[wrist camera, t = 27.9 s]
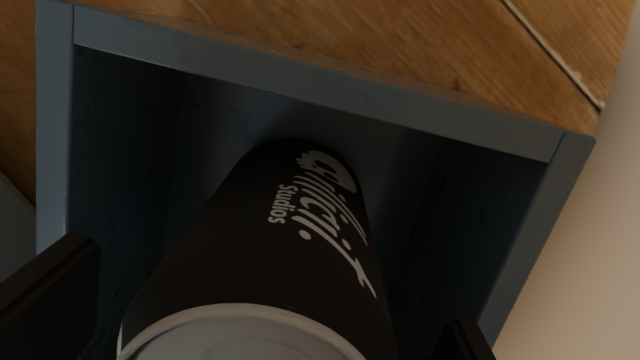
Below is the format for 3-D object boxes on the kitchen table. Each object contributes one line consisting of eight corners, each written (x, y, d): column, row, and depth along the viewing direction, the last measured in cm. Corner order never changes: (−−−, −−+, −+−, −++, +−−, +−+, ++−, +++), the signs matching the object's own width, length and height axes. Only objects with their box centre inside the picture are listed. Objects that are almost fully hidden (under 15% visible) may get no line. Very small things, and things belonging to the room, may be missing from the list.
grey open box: (177, 17, 17) (32, -8, 9) (473, 94, 18) (599, 139, 10) (141, 345, 23) (35, 515, 15) (361, 390, 24) (379, 575, 16)
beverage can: (389, 182, 19) (484, 400, 7) (314, 279, 20) (297, 573, 9) (271, 106, 17) (166, 222, 6) (204, 216, 19) (29, 461, 8)
